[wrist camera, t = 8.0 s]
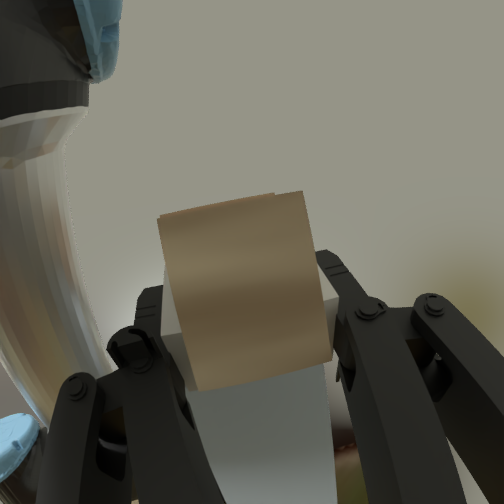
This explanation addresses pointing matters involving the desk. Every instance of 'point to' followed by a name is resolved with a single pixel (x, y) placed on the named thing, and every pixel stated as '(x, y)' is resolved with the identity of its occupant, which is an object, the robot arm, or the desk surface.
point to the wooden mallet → (246, 288)
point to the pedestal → (269, 439)
